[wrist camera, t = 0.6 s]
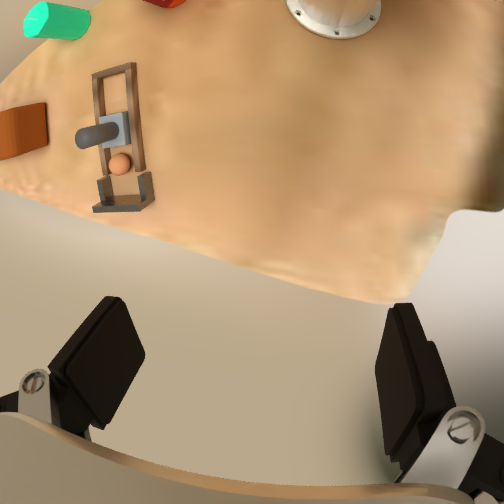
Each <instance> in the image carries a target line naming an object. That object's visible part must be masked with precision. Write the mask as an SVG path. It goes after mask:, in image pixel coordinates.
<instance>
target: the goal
mask: <svg viewBox="0 0 504 504" xmlns="http://www.w3.org/2000/svg"><path fill="white" fill-rule="evenodd" d="M97 184H98V190H99V195H100V200H101V202H99V203H98V204H96V205H94V206H93V207H92V208H93V213H102V212H135V211H141V210H142V209H144V208H145V207H146V206H148V205H149V204H150V203H152V202H153V201H154V200H155V198H154V191H153V184H152V177H151V172H145V173H143V174H141V175H139V176H138V184H139V190H140V195H124V196H113V190H112V185H111V179H110V176H105V177H103V178H101V179H99V180H97Z"/></svg>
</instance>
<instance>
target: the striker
mask: <svg viewBox="0 0 504 504" xmlns="http://www.w3.org/2000/svg"><path fill="white" fill-rule="evenodd" d="M75 142H76V145H77V146H78V147H79V148H80V149H86V148H89V147H92V146H95V145H98V144H101V143H102V148H109V147H115V146H122V145H127V144H130V143H131V135H130V125H129V115H128V111H127V112H121V113H116V114H112V115H107V116H103V117H99V125H94V126H90V127H86V128H82V129H79V130H78V131H77V133H76V135H75Z"/></svg>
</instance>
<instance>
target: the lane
mask: <svg viewBox="0 0 504 504" xmlns="http://www.w3.org/2000/svg"><path fill="white" fill-rule="evenodd" d="M123 72H125V76H126V92H127V104H128V115H129V125H130V135H131V143H132V151H133V159H134V166H135V172H141V171H143V170H145V169H146V166H145V159H144V151H143V142H142V133H141V124H140V113H139V102H138V88H137V72H136V63H131V62H130V63H126V64H123V65H119V66H116V67H113V68H109V69H106V70H103V71H100V72H97V73H94V74H92V87H93V101H94V112H95V121H96V125H99V117H103V116H106V113H105V103H104V90H103V78H106V77H109V76H113V75H116V74H120V73H123ZM98 146H99V153H100V160H101V166H102V172H103V176H104V175H109V174H111V173H112V172H111V171H110V169H109V161H110V159H111V155H110V148H102V143H101V144H98Z"/></svg>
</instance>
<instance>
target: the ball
mask: <svg viewBox="0 0 504 504" xmlns="http://www.w3.org/2000/svg"><path fill="white" fill-rule="evenodd" d="M129 167H130V160H129V158H128V157H127V156H126V155H124V154H116V155H114V156H113V157H112V158H111V159H110V161H109V169H110V171H111V172H112V173H113V174H115V175H123V174H125V173H126V172H127V171H128V169H129Z"/></svg>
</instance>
